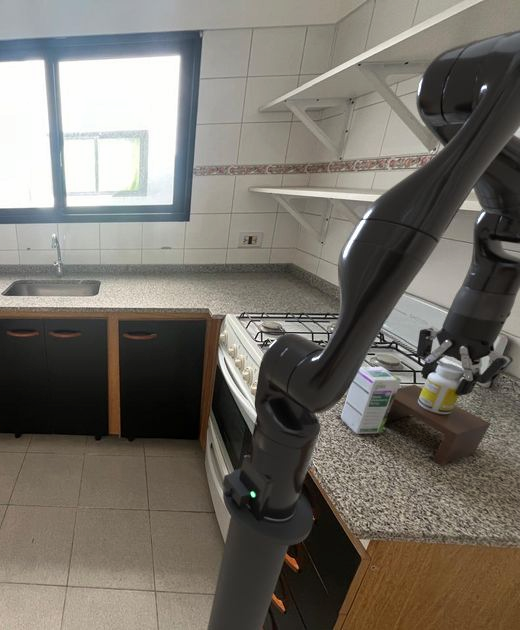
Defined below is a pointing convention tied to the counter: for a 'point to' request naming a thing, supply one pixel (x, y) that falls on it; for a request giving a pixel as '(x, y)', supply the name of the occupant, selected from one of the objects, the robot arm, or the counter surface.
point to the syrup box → (370, 399)
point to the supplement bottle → (441, 389)
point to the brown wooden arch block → (442, 424)
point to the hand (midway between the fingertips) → (443, 385)
